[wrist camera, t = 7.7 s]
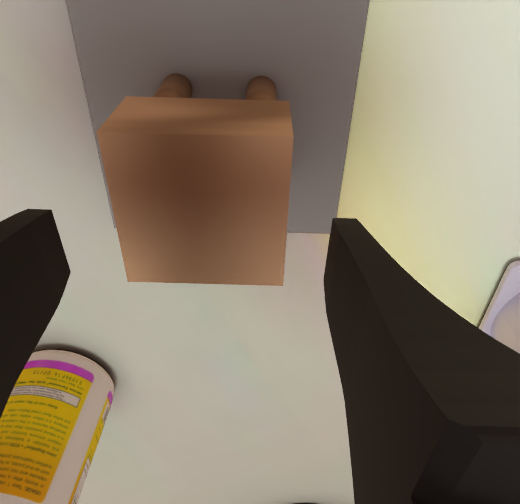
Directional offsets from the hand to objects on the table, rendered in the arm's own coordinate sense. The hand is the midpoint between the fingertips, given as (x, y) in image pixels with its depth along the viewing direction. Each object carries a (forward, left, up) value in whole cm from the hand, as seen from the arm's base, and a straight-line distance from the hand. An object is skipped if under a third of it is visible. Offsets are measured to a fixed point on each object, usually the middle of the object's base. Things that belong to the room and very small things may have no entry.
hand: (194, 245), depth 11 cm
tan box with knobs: (0, 0, -9) cm, 9 cm away
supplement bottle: (+11, +18, -9) cm, 23 cm away
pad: (0, 0, -9) cm, 9 cm away
